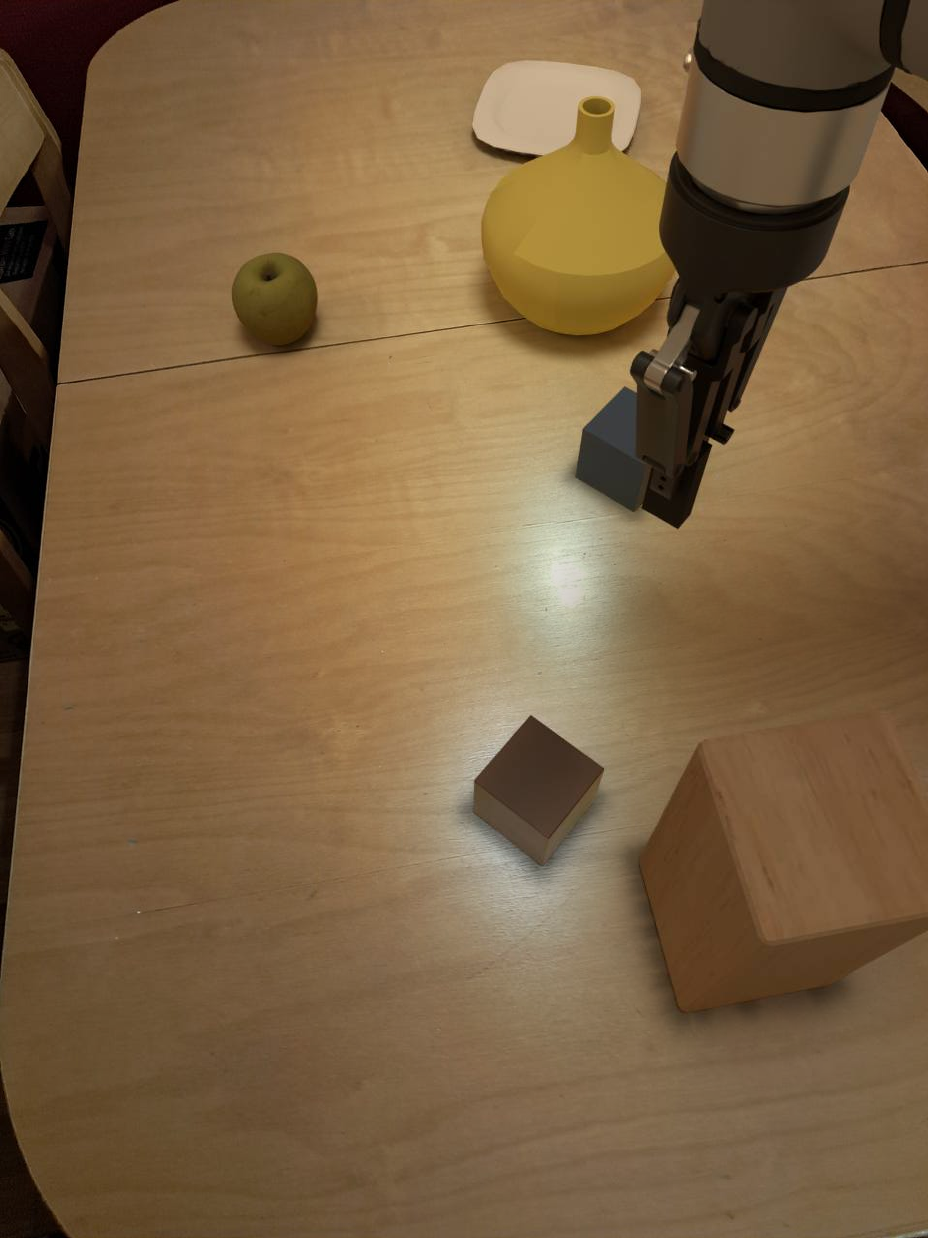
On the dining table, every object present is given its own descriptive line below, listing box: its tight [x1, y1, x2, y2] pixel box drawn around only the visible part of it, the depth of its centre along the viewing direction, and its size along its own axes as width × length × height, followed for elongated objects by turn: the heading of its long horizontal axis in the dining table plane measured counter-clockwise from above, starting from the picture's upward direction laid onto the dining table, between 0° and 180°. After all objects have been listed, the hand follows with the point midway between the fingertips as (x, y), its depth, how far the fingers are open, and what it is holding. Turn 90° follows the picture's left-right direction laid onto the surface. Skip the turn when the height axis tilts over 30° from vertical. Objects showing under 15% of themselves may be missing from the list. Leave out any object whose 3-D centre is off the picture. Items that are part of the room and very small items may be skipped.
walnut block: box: [473, 714, 605, 867], centre depth 62 cm, size 6×6×6 cm
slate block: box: [575, 385, 651, 512], centre depth 78 cm, size 6×6×6 cm
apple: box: [231, 252, 319, 346], centre depth 86 cm, size 8×8×7 cm
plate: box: [471, 59, 642, 158], centre depth 106 cm, size 18×18×2 cm
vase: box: [480, 96, 677, 336], centre depth 83 cm, size 18×18×19 cm
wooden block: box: [638, 709, 928, 1013], centre depth 52 cm, size 10×10×20 cm
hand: (666, 511), depth 59 cm, fingers closed
